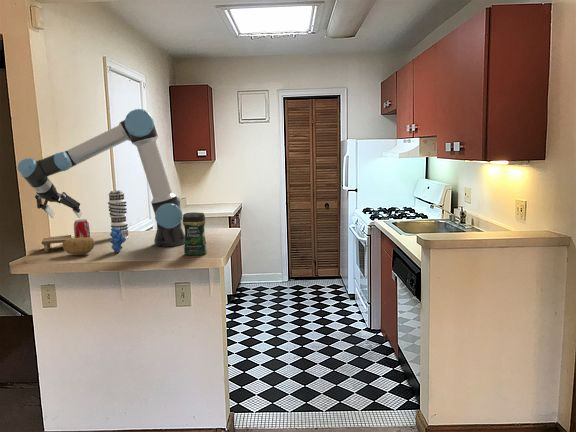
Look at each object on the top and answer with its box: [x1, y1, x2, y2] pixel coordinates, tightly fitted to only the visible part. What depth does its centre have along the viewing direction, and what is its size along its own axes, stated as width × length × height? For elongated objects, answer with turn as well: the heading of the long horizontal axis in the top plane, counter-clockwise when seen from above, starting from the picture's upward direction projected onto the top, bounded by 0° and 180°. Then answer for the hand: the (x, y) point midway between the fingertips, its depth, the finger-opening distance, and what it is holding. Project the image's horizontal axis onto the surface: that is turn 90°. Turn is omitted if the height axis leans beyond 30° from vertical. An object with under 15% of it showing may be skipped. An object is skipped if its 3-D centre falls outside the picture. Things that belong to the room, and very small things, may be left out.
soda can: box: [73, 218, 91, 238], centre depth 235 cm, size 7×7×12 cm
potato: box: [61, 237, 95, 256], centre depth 211 cm, size 10×14×8 cm
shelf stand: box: [41, 234, 72, 253], centre depth 225 cm, size 12×12×5 cm
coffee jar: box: [182, 212, 208, 256], centre depth 206 cm, size 10×8×19 cm
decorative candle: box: [107, 190, 129, 240], centre depth 246 cm, size 9×9×25 cm
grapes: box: [109, 227, 127, 254], centre depth 214 cm, size 12×7×12 cm, turn 4°
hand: (66, 215), depth 223 cm, fingers open, 13 cm apart
